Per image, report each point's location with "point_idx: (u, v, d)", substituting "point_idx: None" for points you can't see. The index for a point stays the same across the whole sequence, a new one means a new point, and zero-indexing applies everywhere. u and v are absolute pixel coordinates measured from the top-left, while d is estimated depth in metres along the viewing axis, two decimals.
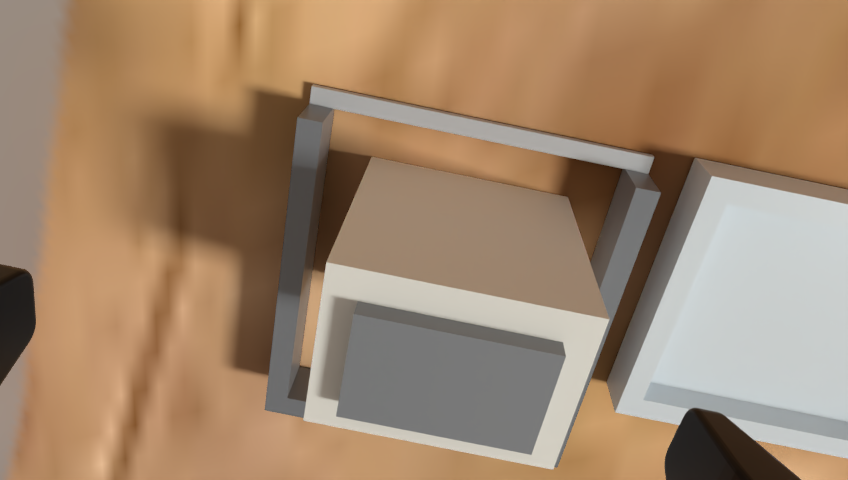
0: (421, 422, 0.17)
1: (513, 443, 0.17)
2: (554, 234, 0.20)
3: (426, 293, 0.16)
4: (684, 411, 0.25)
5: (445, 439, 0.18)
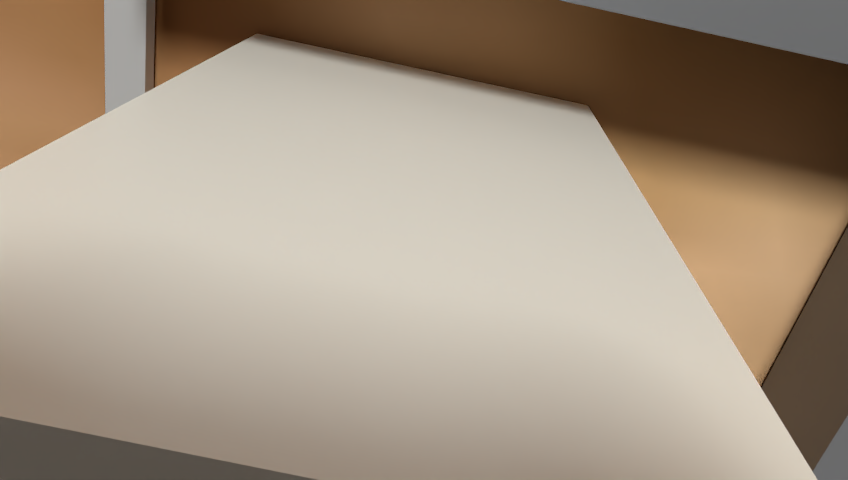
0: None
1: None
2: None
3: None
4: None
5: None
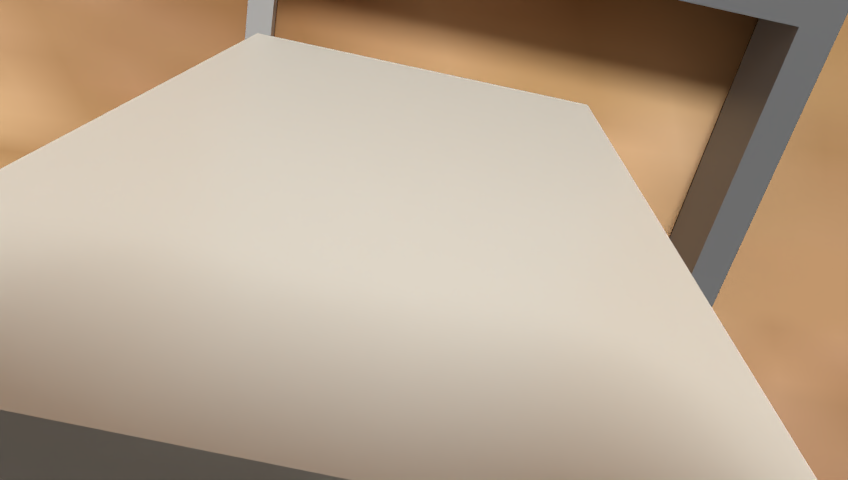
0: None
1: None
2: None
3: None
4: None
5: None
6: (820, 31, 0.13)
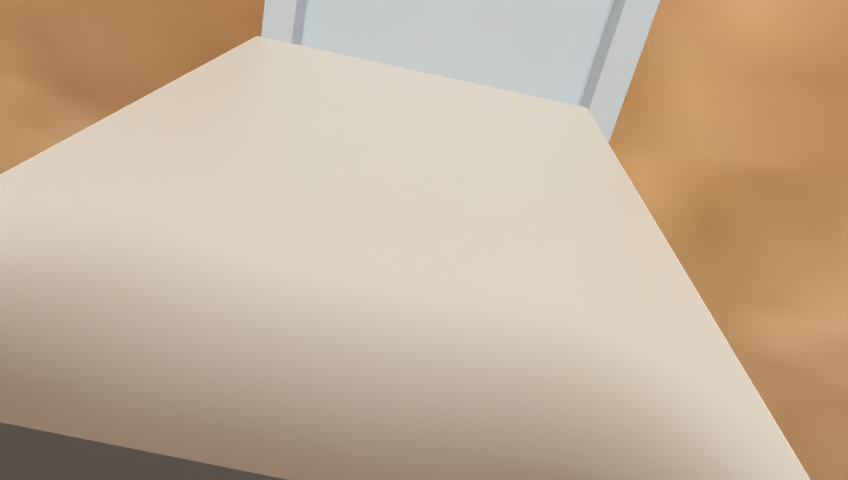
0: None
1: None
2: None
3: None
4: None
5: None
6: None
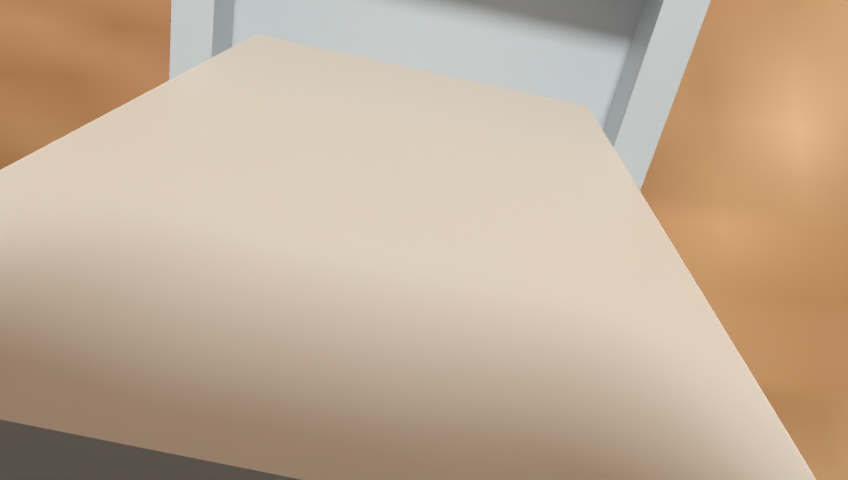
0: None
1: None
2: None
3: None
4: None
5: None
6: None
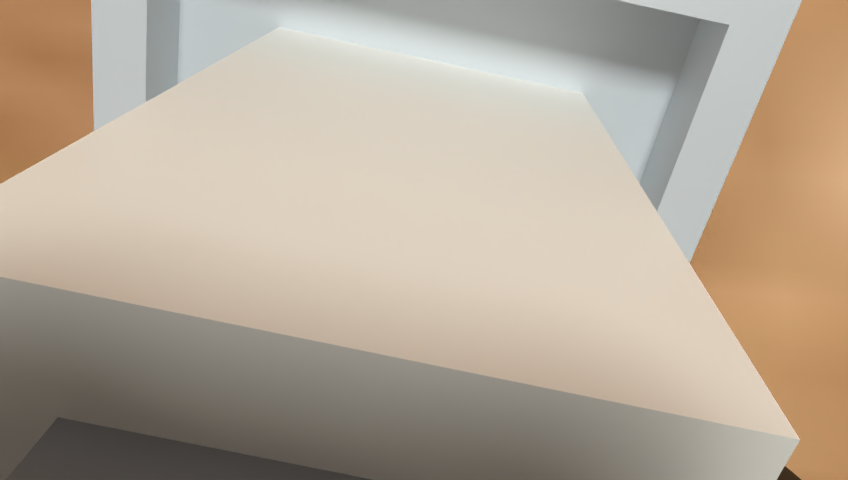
0: None
1: None
2: None
3: None
4: None
5: None
6: None
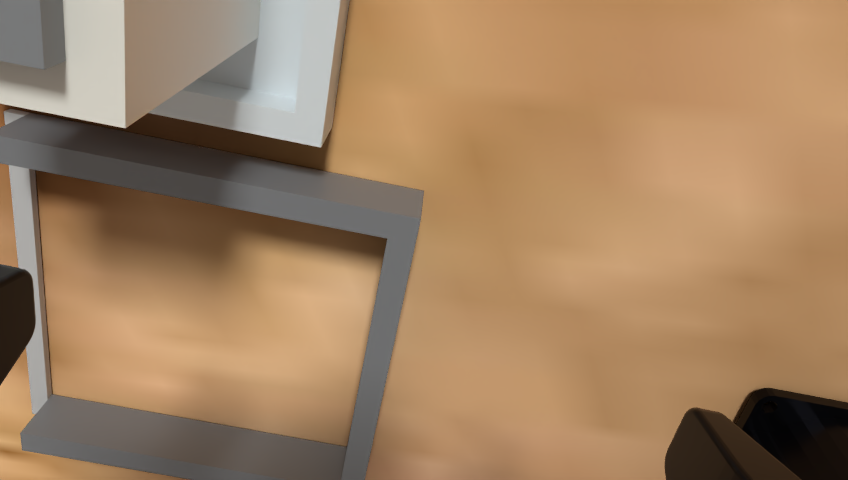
0: None
1: None
2: None
3: None
4: (307, 51, 0.17)
5: None
6: (403, 241, 0.19)
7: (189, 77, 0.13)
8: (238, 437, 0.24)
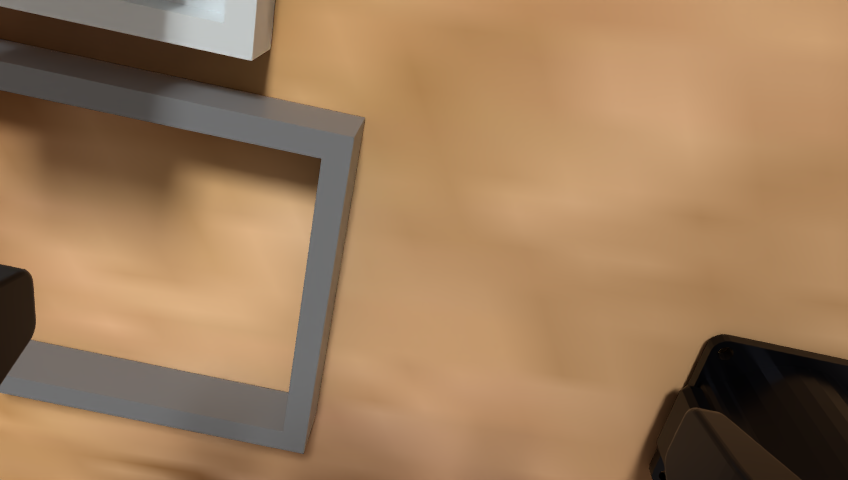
0: None
1: None
2: None
3: None
4: None
5: None
6: (337, 161, 0.18)
7: None
8: (185, 380, 0.24)
